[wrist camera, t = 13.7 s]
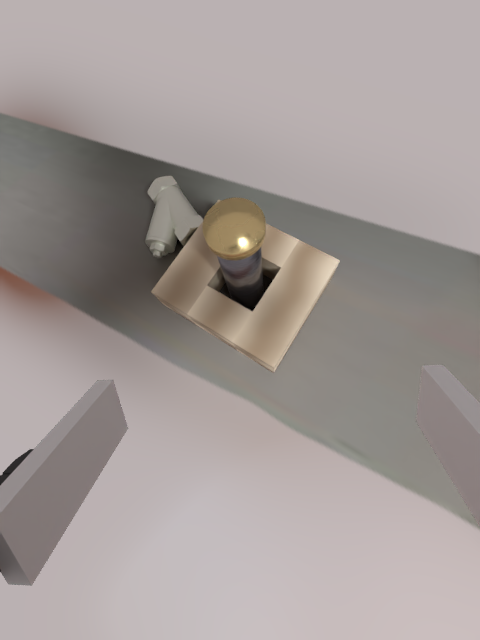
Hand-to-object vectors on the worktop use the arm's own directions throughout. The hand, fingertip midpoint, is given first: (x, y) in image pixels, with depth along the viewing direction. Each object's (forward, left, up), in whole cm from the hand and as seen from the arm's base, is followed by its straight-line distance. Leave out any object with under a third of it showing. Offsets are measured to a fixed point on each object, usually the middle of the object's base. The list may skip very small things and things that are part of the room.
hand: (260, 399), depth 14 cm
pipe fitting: (+20, -11, -19) cm, 30 cm away
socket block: (+8, -9, -18) cm, 22 cm away
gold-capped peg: (+8, -9, -18) cm, 22 cm away
